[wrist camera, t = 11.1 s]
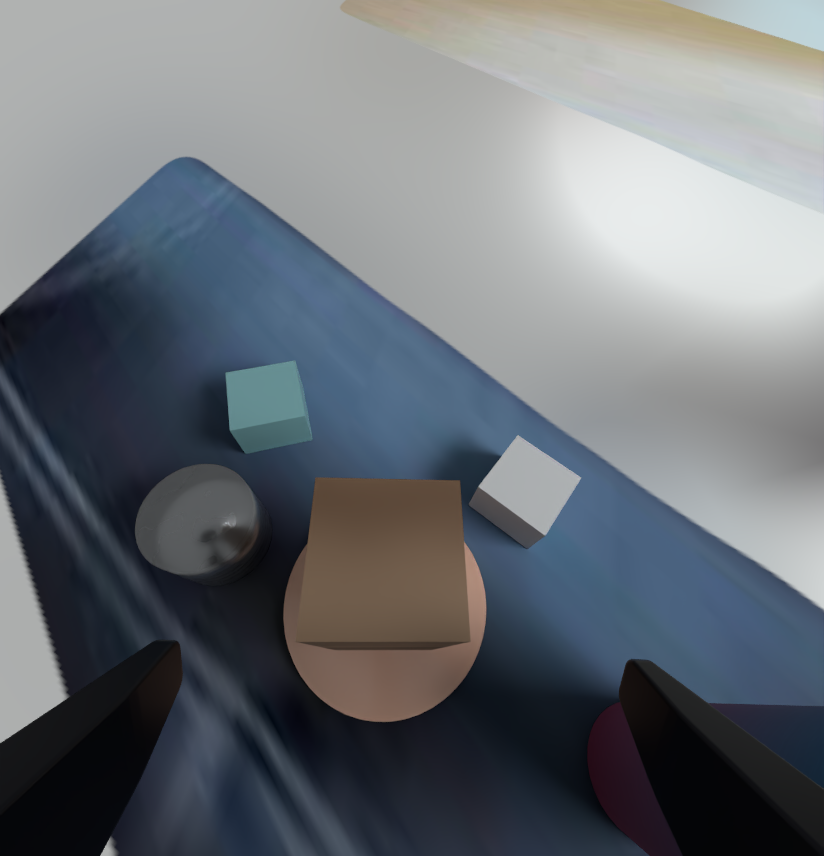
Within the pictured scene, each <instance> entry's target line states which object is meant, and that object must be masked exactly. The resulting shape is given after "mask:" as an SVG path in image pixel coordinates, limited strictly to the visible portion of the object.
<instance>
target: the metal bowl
mask: <svg viewBox="0 0 824 856" xmlns="http://www.w3.org/2000/svg"><path fill="white" fill-rule="evenodd" d="M135 537H136V541H137V545H138V547H139V550H140V551H141V553H142V554H143V556H144V557H145V558H146V559H147V560H148V561H149V562H150V563H151V564H153V565H154V566H156V567H158V568H160V569H163V570H165V571H168V572H170V573H173V574H176V575H178V576H181V577H183V578H186V579H188V580H191V581H194V582H196V583H199V584H202V585H207V586H220V585H225V584H229V583H232V582H235V581H237V580H239V579H241V578H243V577H244V576H246V575H247V574H249V573H250V572H251V571H252V570H253V569H254V568H255V567H256V566H257V565H258V564H259V563H260V562H261V561H262V559H263V558H264V556H265V554H266V552H267V550H268V548H269V545H270V542H271V538H272V522H271V518H270V515H269V513H268V511H267V510H266V508H265V507H264V505H263V504H262V503H261V502H260V500H259V499H258V498H257V496H256V495H255V494H254V493H253V491H252V490H251V489H250V487H249V486H248V485H247V484H246V482H245V481H244V480H243V478H242V477H241V476H239V475H238V474H237V473H236V472H234V471H233V470H231V469H229V468H227V467H223V466H220V465H215V464H199V465H193V466H189V467H186V468H183V469H180V470H178V471H176V472H174V473H172V474H170V475H169V476H167V477H166V478H164V479H163V480H162V481H161V482H159V483H158V484H157V485H156V486H155V487H154V488H153V489H152V490H151V491H150V493H149V494H148V495H147V497H146V498H145V500H144V501H143V503H142V505H141V507H140V509H139V512H138V515H137V518H136V524H135Z"/></svg>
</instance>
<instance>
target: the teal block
mask: <svg viewBox="0 0 824 856" xmlns="http://www.w3.org/2000/svg"><path fill="white" fill-rule="evenodd" d="M226 385H227V399H228V413H229V426H230V432H231V433H232V435H233V436H234V438H235V439H236V441H237V442H238V444H239V445H240V447H241V448H242V450H243V451H244V453H245V454H248V453H253V452H258V451H262V450H267V449H272V448H277V447H281V446H286V445H291V444H296V443H301V442H305V441H310V440H313V439H312V433H311V428H310V422H309V417H308V411H307V406H306V400H305V395H304V389H303V385H302V382H301V379H300V375H299V372H298V369H297V365H296V362H295V361H290V362H284V363H279V364H273V365H267V366H261V367H256V368H250V369H244V370H238V371H233V372H227V373H226Z"/></svg>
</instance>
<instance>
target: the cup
mask: <svg viewBox="0 0 824 856" xmlns="http://www.w3.org/2000/svg"><path fill="white" fill-rule="evenodd" d="M708 704H710V705H711V706H712V707H714V708H715V709H716V710H718V711H719V712H720V713H722V714H723V715H725V716H726V717H727V718H729V719H730V720H731V721H733V722H734V723H735V724H737V725H738V726H739V727H741V728H742V729H743V730H745V731H746V732H747V733H749V734H750V735H752V736H753V737H754V738H756V739H757V740H758V741H760V742H761V743H762V744H764V745H765V746H766V747H768V748H769V749H770V750H772V751H773V752H774V753H776V754H777V755H779V756H780V757H781V758H783V759H784V760H785V761H787V762H788V763H789V764H791V765H792V766H793V767H795V768H796V769H797V770H799V771H800V772H801V773H803V774H804V775H806V776H807V777H808V778H810V779H811V780H812V781H814V782H815V783H816V784H818V785H819V786H820V787H822V788H823V789H824V707H823V706H787V705H752V704H716V703H708ZM587 761H588V768H589V775H590V778H591V782H592V785H593V788H594V791H595V793H596V795H597V798H598V800H599V802H600V804H601V806H602V807H603V809H604V810H605V812H606V813H607V815H608V816H609V818H610V819H611V820H612V821H613V822H614V823H615V824H616V826H617V827H618V828H619V829H620V830H621V831H623V832H624V833H625V834H626V835H627V836H628V837H629V838H630V839H632V840H633V841H634V842H635V843H636V844H637V845H638V846H639V847H641V848H642V849H643V850H644V851H645V852H646V853H647V854H649V855H650V856H682V854H681V852H680V850H679V848H678V845H677V843H676V841H675V839H674V837H673V835H672V832H671V830H670V828H669V826H668V824H667V822H666V819H665V817H664V815H663V813H662V811H661V808H660V806H659V804H658V802H657V799H656V797H655V795H654V793H653V790H652V787H651V785H650V782H649V780H648V777H647V775H646V772H645V769H644V766H643V764H642V761H641V758H640V755H639V753H638V750H637V747H636V745H635V742H634V739H633V736H632V734H631V731H630V728H629V725H628V723H627V720H626V717H625V714H624V712H623V709H622V706H621V703H620V702H619V703H615V704H613V705H611V706H609V707H608V708H606V709H605V710H604V711H603V712H602V713H601V714H600V715H599V716H598V718H597V720H596V721H595V723H594V724H593V727H592V730H591V732H590V736H589V741H588V747H587Z"/></svg>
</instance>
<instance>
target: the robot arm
mask: <svg viewBox="0 0 824 856" xmlns="http://www.w3.org/2000/svg"><path fill="white" fill-rule="evenodd" d="M182 676H183V671H182V661H181V650H180V644H179V643H178V642H177V641H175V640H156V641H154V642H152V643H150V644H149V645H147V646H146V647H144V648H143V649H141V650H140V651H138V652H137V653H135V654H134V655H132V656H131V657H129V658H128V659H126V660H125V661H123V662H122V663H120V664H119V665H117V666H116V667H114V668H113V669H111V670H110V671H108V672H107V673H105V674H104V675H102V676H101V677H99V678H98V679H96V680H95V681H93V682H92V683H90V684H89V685H87V686H86V687H84V688H83V689H81V690H80V691H78V692H77V693H75V694H74V695H72V696H71V697H69V698H68V699H66V700H65V701H63V702H62V703H60V704H59V705H57V706H56V707H54V708H53V709H51V710H50V711H48V712H47V713H45V714H44V715H42V716H41V717H39V718H38V719H36V720H35V721H33V722H32V723H30V724H29V725H27V726H26V727H24V728H23V729H21V730H20V731H18V732H17V733H15V734H14V735H12V736H11V737H9V738H8V739H6V740H5V741H3V742H2V743H0V856H100V855H101V853H102V851H103V849H104V848H105V846H106V844H107V842H108V840H109V838H110V836H111V834H112V832H113V831H114V829H115V827H116V825H117V823H118V821H119V819H120V817H121V815H122V814H123V812H124V810H125V808H126V806H127V804H128V802H129V800H130V799H131V797H132V795H133V793H134V791H135V789H136V787H137V785H138V783H139V781H140V779H141V777H142V775H143V772H144V770H145V768H146V766H147V763H148V761H149V759H150V756H151V754H152V752H153V749H154V747H155V745H156V742H157V740H158V738H159V735H160V733H161V731H162V728H163V726H164V724H165V721H166V719H167V717H168V714H169V712H170V710H171V707H172V705H173V703H174V700H175V698H176V696H177V693H178V691H179V688H180V686H181V682H182ZM619 699H620V703H621V706H622V709H623V712H624V714H625V717H626V720H627V723H628V725H629V728H630V731H631V734H632V736H633V739H634V742H635V745H636V747H637V750H638V753H639V755H640V758H641V761H642V764H643V766H644V769H645V772H646V775H647V777H648V780H649V782H650V785H651V787H652V790H653V793H654V795H655V797H656V799H657V802H658V804H659V806H660V808H661V811H662V813H663V815H664V817H665V819H666V822H667V824H668V826H669V828H670V830H671V832H672V835H673V837H674V839H675V841H676V843H677V845H678V848H679V850H680V852H681V854H682V856H824V789H823V788H822V787H820V786H819V785H818V784H816V783H815V782H814V781H812V780H811V779H810V778H808V777H807V776H806V775H804V774H803V773H801V772H800V771H799V770H797V769H796V768H795V767H793V766H792V765H791V764H789V763H788V762H787V761H785V760H784V759H783V758H781V757H780V756H779V755H777V754H776V753H774V752H773V751H772V750H770V749H769V748H768V747H766V746H765V745H764V744H762V743H761V742H760V741H758V740H757V739H756V738H754V737H753V736H752V735H750V734H749V733H747V732H746V731H745V730H743V729H742V728H741V727H739V726H738V725H737V724H735V723H734V722H733V721H731V720H730V719H729V718H727V717H726V716H725V715H723V714H722V713H720V712H719V711H718V710H716V709H715V708H714V707H712V706H711V705H710V704H708V703H707V702H706V701H704V700H703V699H702V698H700V697H699V696H698V695H696V694H695V693H693V692H692V691H691V690H689V689H688V688H687V687H685V686H684V685H683V684H681V683H680V682H679V681H677V680H676V679H675V678H673V677H672V676H670V675H669V674H668V673H666V672H665V671H664V670H662V669H661V668H660V667H658V666H657V665H656V664H654V663H653V662H651V661H649V660H641V659H630V660H628V661H627V663H626V665H625V669H624V673H623V677H622V681H621V685H620V688H619Z"/></svg>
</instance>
